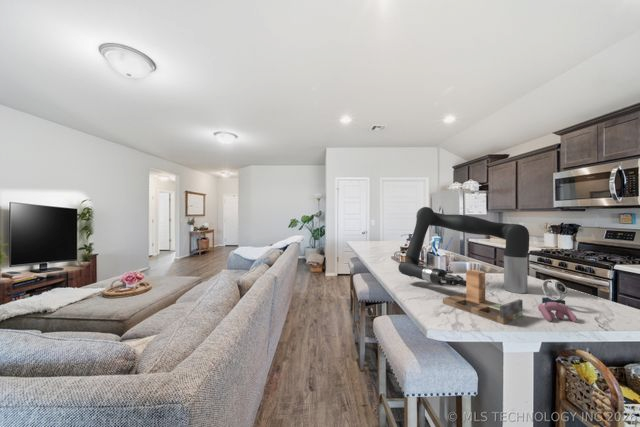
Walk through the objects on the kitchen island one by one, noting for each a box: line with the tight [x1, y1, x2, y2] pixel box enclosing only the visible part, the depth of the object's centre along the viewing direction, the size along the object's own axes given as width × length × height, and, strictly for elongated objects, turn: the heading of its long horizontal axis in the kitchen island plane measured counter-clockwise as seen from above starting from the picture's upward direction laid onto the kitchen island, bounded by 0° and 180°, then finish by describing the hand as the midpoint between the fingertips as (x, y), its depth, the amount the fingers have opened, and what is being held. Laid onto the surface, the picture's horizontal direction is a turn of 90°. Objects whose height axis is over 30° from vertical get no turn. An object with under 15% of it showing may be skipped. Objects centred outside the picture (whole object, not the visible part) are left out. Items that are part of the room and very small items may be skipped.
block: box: [465, 269, 486, 303], centre depth 103 cm, size 5×5×12 cm
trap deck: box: [442, 292, 524, 325], centre depth 98 cm, size 14×23×6 cm, turn 29°
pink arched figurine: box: [537, 302, 578, 323], centre depth 89 cm, size 10×5×7 cm, turn 86°
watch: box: [541, 279, 568, 305], centre depth 100 cm, size 6×8×11 cm
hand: (469, 284), depth 105 cm, fingers closed
